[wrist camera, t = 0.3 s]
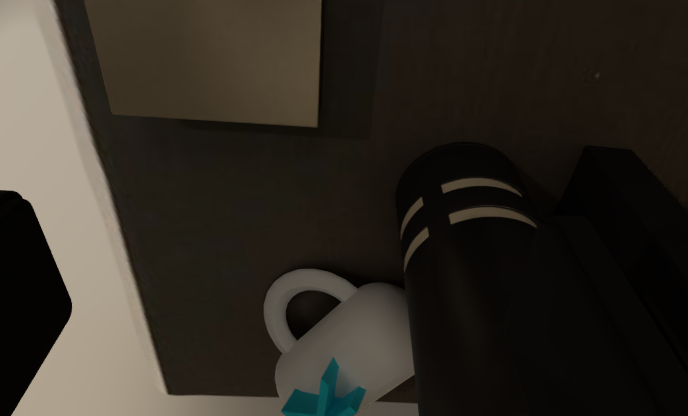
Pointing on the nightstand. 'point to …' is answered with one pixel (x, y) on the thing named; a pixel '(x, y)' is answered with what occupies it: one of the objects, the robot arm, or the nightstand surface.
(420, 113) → the nightstand surface
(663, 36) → the nightstand surface
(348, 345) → the mug
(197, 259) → the nightstand surface
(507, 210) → the light fixture
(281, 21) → the panel
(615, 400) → the robot arm
